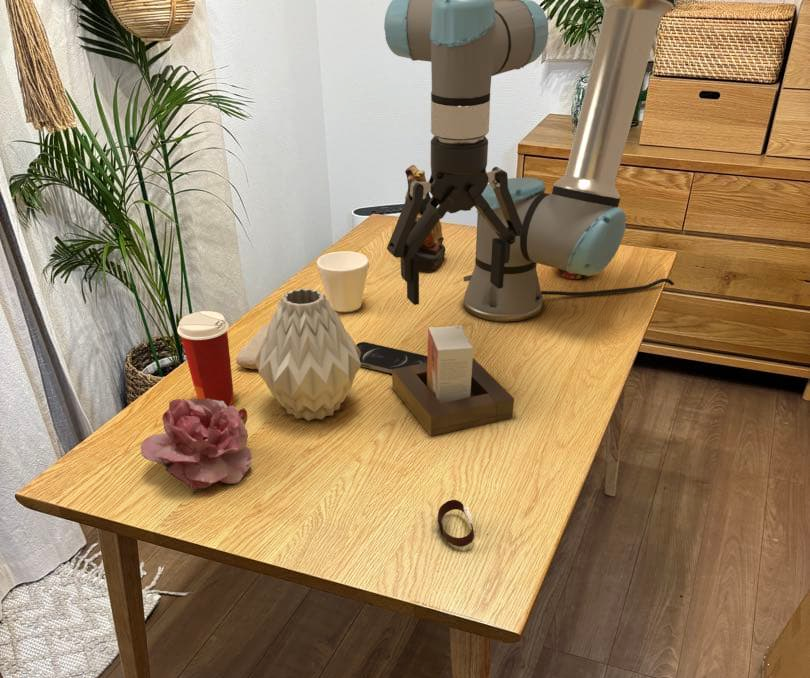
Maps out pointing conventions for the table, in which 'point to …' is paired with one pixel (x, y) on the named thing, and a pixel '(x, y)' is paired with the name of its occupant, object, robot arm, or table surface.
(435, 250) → the statue
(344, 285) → the cup
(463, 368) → the small box
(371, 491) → the table surface
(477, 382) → the square wooden frame
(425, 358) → the smartphone
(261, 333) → the washcloth
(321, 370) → the vase
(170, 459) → the flower
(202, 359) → the paper cup
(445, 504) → the watch
